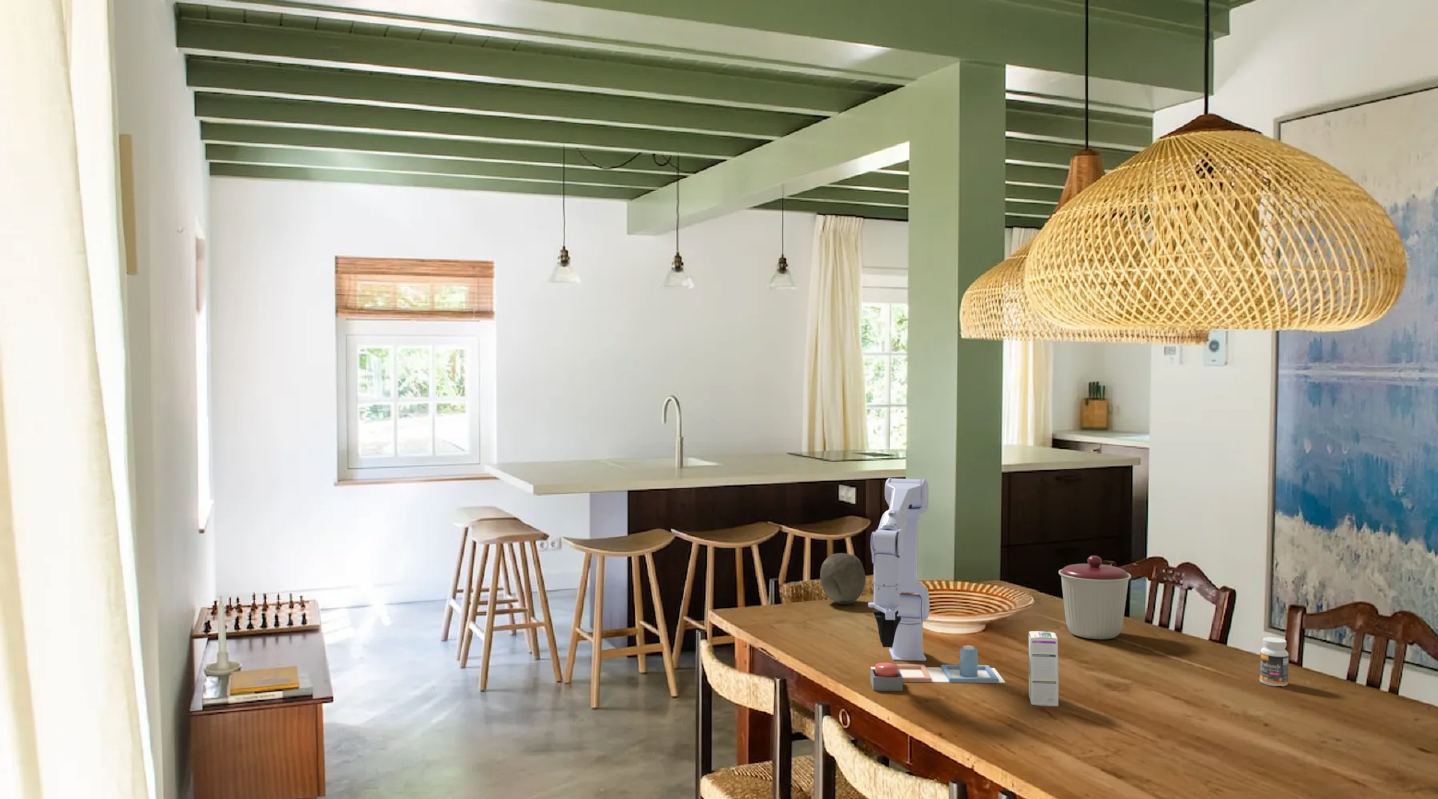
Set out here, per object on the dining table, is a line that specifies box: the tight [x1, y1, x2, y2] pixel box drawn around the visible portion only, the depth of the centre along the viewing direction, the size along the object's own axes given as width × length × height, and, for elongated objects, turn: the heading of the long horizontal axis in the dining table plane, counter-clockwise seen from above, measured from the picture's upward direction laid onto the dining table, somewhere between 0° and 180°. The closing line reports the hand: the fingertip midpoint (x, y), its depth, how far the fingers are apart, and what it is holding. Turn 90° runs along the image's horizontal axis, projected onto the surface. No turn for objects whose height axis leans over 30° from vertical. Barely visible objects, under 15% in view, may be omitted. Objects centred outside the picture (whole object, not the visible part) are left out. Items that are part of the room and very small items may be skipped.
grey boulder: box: [819, 552, 867, 605], centre depth 321 cm, size 14×14×15 cm
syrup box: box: [1028, 630, 1059, 707], centre depth 226 cm, size 6×6×14 cm
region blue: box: [940, 664, 999, 683], centre depth 246 cm, size 11×11×1 cm
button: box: [874, 662, 898, 677], centre depth 237 cm, size 5×5×2 cm
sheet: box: [870, 666, 1006, 684], centre depth 246 cm, size 12×29×1 cm, turn 88°
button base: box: [869, 668, 904, 692], centre depth 237 cm, size 6×6×3 cm
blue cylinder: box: [959, 644, 979, 677], centre depth 246 cm, size 4×4×7 cm
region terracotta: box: [896, 663, 932, 683], centre depth 246 cm, size 11×11×1 cm
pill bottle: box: [1259, 636, 1290, 687], centre depth 239 cm, size 6×6×10 cm
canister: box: [1058, 555, 1132, 640], centre depth 282 cm, size 18×18×21 cm
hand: (886, 644), depth 237 cm, fingers open, 3 cm apart
